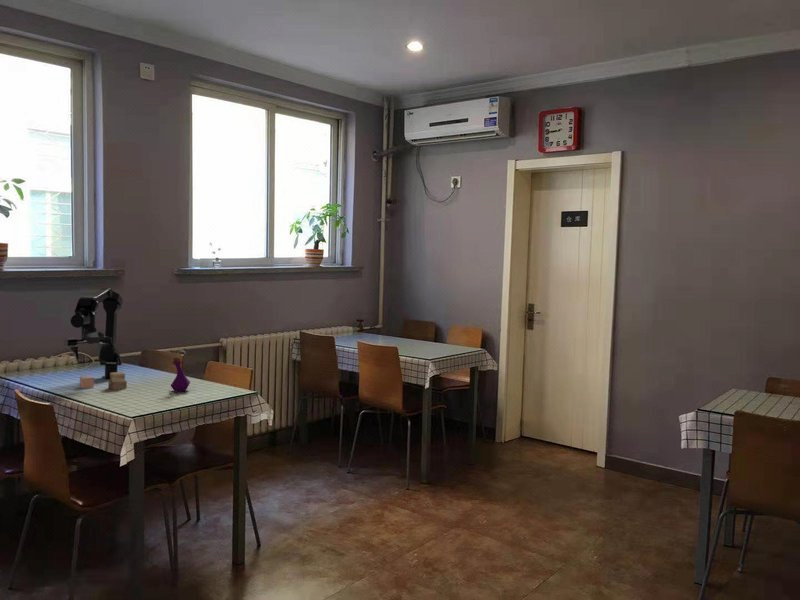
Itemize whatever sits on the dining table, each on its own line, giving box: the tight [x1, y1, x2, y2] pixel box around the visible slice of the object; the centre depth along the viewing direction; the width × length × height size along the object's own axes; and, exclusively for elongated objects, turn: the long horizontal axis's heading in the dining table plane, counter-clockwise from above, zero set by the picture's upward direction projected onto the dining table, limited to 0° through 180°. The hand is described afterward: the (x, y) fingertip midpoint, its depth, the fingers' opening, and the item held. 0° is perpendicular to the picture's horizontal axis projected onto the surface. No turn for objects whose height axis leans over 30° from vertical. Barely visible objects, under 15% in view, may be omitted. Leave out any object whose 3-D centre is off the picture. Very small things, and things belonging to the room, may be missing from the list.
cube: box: [79, 375, 95, 389], centre depth 301 cm, size 4×4×4 cm
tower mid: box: [109, 371, 126, 382], centre depth 300 cm, size 5×5×4 cm
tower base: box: [107, 380, 128, 391], centre depth 300 cm, size 6×6×4 cm
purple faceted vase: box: [170, 349, 191, 393], centre depth 297 cm, size 8×8×18 cm
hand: (88, 360), depth 300 cm, fingers open, 9 cm apart
